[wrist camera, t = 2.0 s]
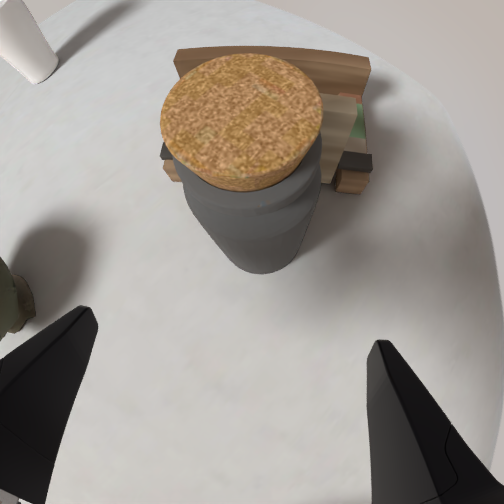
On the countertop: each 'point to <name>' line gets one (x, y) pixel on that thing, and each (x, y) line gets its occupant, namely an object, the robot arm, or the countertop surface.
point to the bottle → (248, 154)
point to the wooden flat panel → (331, 138)
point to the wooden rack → (323, 76)
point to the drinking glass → (24, 42)
